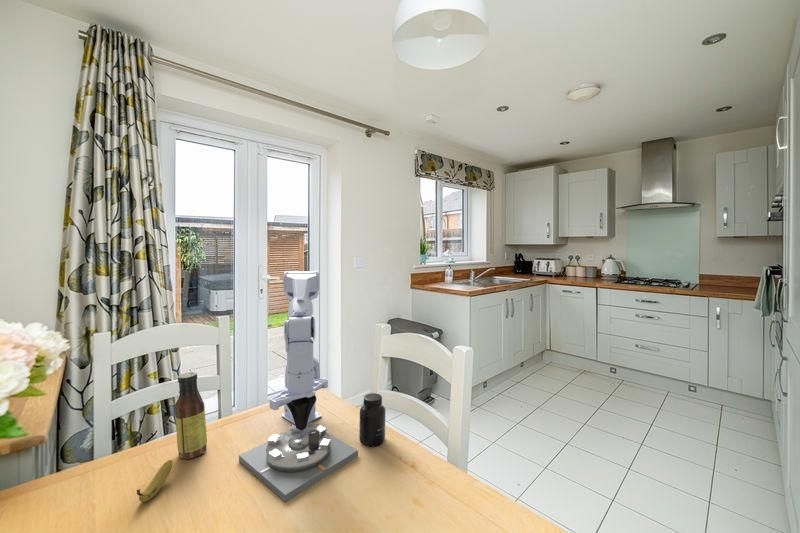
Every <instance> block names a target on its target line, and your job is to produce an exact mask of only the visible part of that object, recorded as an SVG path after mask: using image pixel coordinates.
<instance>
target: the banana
mask: <svg viewBox="0 0 800 533" xmlns="http://www.w3.org/2000/svg"><path fill="white" fill-rule="evenodd" d="M173 466H174V462H173V459H168V460H166V461H165V462H164V463H163V464H162V465H161V467H160V468H159V469H158V470H157V471H156V474H155V475H154V476H153V477H152V480H151V481H150V483H149V484H148V485H147V486H146V488H145V489H144V490H143V491H142V492H141V488H139V489H138V488H137V489H136V490H135V491H136V495H137V496H138V500H139V501H140V502H141V503H146V502H149V501H150V500H151V499H153V498H154V497H155V496H156V495H157V494H158V492H159V491H160V490H161V489H162V487H163V486H164V484H165V482H166V480H167V479H168V477H169V476H170V473H171V471H172V469H173Z"/></svg>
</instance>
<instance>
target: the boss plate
mask: <svg viewBox="0 0 800 533" xmlns="http://www.w3.org/2000/svg"><path fill="white" fill-rule="evenodd" d="M306 427H311V428H316V427H318V426H316V425H315V424H313V423H312V422H309V423H307V426H306ZM326 433H328V434H329V436H330V438H331V451H330V454H329V456H328V457H327V458H326V459H325V460H324V461H323V462H322V463H320V464H319V465H317V466H315V467H313V468H310V469H308V470H304V471H299V472H281V471H278V470H275V469H273V468H271V467H270V466H269V465H268V463H267V461H266V447H267V445H268V441H267V442H266V441H265V442H264V443H262V444H259V445H258V446H255V447H253V448H252V449H249V450H247V451H245V452H243V453H241V454H238V462H239V463H241V464H242V466H244V467H245V468H246V469H247V470H248V471H249V472H250V473H252V474H253V476H255V477H256V478H257V479H259V480H260V481H261V482H262V483H263V484H264V485H265V486H267V487H268V488H269V489H270V491H272V492H273V493H274V494H275V495H277V496H278V498H280V499H281V500H283V502H285V503H286V502H287V501H289V500H291V499H292V498H294V497H296V496H297V495H299V494H301V493H302V492H304V491H305V490H307V489H308V488H310V487H311V486H313V485H314V484H316V483H318V482H319V481H322V479H324V478H326V477H327V476H329V475H331V474H333V472H335V471H336V470H338V469H340V468H341V467H343V466H344V465H346V464H348V463H349V462H351V461H353V460H354V459H356V458H358V457H359V449H357V448H356V447H353V446H352V445H350V444H349V443H346V442H345V441H343V440H341V439H339V438H338V437H336V436H334V435H333V434H331V433H329V432H327V431H326Z"/></svg>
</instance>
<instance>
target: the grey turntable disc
mask: <svg viewBox="0 0 800 533" xmlns="http://www.w3.org/2000/svg"><path fill="white" fill-rule="evenodd" d="M326 432H327V428H326V427H323V425H318V426H317V427H316V428H311V427H306V428H305V429H304V430H302V431H301V430H299V429H297V428H296V426H295V424H293V425H290V429H288V430H285V431H284V432H280V433H279V434H272V435H271V436H270V437H269V438H268V439H267V442H268V445H267V447H266V461H267V463H268V465H269V466H270V467H271V468H273V469H275V470H278V471H281V472H299V471H304V470H308V469H310V468H313V467H315V466H317V465H319V464H320V463H322V462H323V461H324V460H325V459H326V458H327V457H328V456H329V454H330V451H331V438H330V436H329V434H330V433H329V432H327V433H326ZM328 433H329V434H328Z"/></svg>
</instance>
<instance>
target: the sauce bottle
mask: <svg viewBox="0 0 800 533" xmlns="http://www.w3.org/2000/svg"><path fill="white" fill-rule="evenodd" d="M197 380H198V373H197V372H196V371H190V372H184V373H181V374H179V375H178V376H177V382H178V385H179V386H178V388H179V392H178V393H179V396H178V398H177V401H176V402H175V404H174V409H175V415H174V416H175V428H176V429H175V430H176V431H175V432H176V442H177V451H178V457H179V458H181V459H184V460H190V459H195V458H197V457H199V456H201V455H202V454H204V453H205V452H206V451H207V446H208V445H207V444H208V436H207V435H208V434H207V422H206V410H205V409H206V407H205V402H204V401H203V398H202V396H201V393H200V392H199V389H198V384H197V383H198V381H197Z"/></svg>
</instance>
